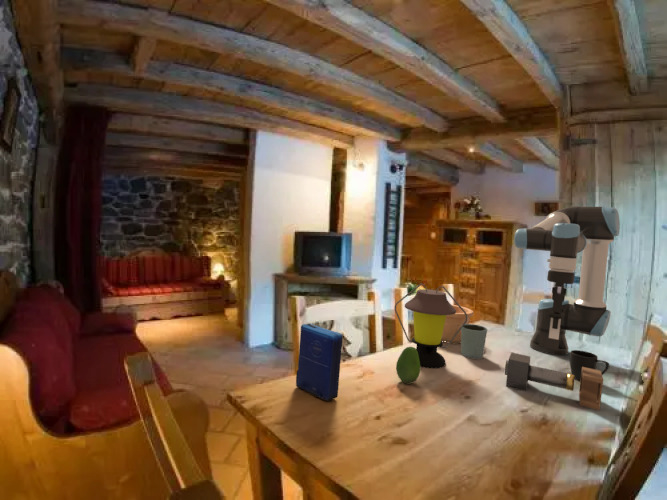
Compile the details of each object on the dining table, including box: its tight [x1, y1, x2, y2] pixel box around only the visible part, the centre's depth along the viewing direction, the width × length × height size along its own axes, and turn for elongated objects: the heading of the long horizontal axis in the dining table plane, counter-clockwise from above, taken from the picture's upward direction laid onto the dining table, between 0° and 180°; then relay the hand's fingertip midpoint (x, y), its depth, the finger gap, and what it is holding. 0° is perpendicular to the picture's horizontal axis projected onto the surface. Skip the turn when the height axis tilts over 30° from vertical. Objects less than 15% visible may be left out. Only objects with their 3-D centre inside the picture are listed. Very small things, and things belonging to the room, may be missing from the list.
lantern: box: [394, 282, 467, 369], centre depth 147 cm, size 25×19×30 cm
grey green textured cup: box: [460, 323, 488, 360], centre depth 158 cm, size 10×10×12 cm
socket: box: [578, 367, 604, 411], centre depth 120 cm, size 9×5×10 cm, turn 149°
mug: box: [569, 349, 610, 382], centre depth 137 cm, size 8×12×10 cm
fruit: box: [395, 346, 421, 384], centre depth 126 cm, size 8×8×12 cm
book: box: [295, 323, 343, 402], centre depth 113 cm, size 14×5×20 cm, turn 49°
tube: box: [504, 359, 575, 392], centre depth 127 cm, size 20×5×5 cm, turn 59°
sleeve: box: [505, 352, 531, 392], centre depth 130 cm, size 8×6×9 cm
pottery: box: [441, 304, 474, 344], centre depth 181 cm, size 22×22×14 cm
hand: (554, 334), depth 126 cm, fingers open, 13 cm apart
